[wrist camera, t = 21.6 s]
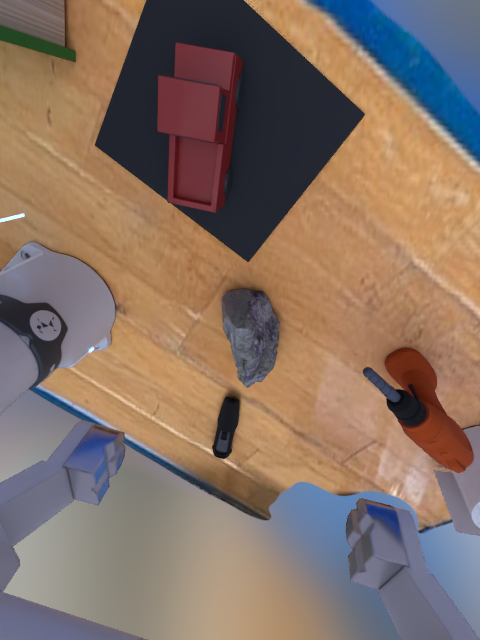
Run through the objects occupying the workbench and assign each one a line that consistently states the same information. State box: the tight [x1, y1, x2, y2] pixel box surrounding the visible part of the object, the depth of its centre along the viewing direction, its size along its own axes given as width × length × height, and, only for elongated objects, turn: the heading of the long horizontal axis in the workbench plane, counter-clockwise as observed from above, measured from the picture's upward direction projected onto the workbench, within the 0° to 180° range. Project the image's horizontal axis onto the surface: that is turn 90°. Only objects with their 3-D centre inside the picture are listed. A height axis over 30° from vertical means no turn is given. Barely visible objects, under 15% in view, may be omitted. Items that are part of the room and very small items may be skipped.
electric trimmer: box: [212, 397, 240, 459], centre depth 55 cm, size 4×16×3 cm, turn 171°
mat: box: [95, 0, 365, 262], centre depth 33 cm, size 19×22×1 cm
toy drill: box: [363, 348, 474, 473], centre depth 36 cm, size 5×19×15 cm, turn 47°
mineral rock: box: [222, 289, 280, 388], centre depth 41 cm, size 13×11×10 cm
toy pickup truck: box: [158, 42, 245, 213], centre depth 30 cm, size 13×6×8 cm, turn 171°
